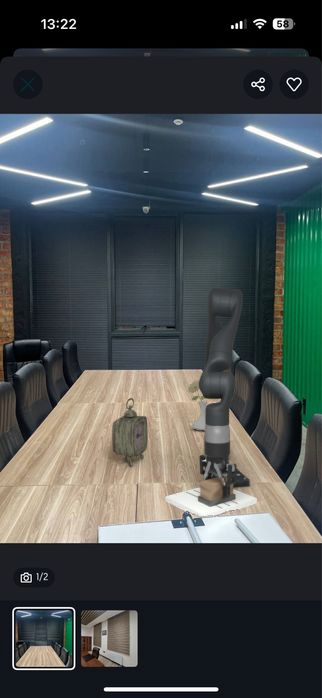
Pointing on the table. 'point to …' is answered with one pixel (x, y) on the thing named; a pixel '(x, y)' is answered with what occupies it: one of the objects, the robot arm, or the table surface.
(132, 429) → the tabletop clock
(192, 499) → the board
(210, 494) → the sanding block
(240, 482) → the disk drive
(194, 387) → the flower in vase
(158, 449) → the table surface
